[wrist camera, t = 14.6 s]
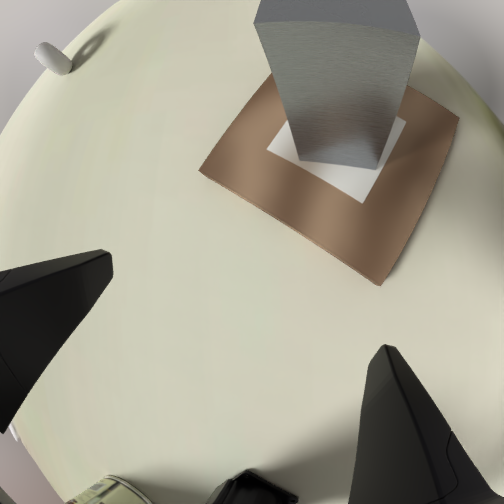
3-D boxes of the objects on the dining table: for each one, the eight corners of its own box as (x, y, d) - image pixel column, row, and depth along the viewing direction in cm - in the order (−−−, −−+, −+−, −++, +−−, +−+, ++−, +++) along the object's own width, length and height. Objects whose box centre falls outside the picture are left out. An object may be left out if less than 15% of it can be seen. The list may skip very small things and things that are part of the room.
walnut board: (453, 126, 17) (459, 117, 15) (376, 285, 18) (381, 286, 16) (301, 51, 21) (299, 40, 19) (206, 176, 22) (197, 170, 21)
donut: (80, 68, 32) (44, 43, 22) (67, 83, 32) (31, 60, 23) (71, 58, 34) (41, 36, 25) (60, 70, 35) (29, 50, 25)
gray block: (375, 170, 17) (420, 36, 5) (299, 160, 19) (253, 23, 7) (374, 107, 17) (392, -26, 5) (306, 100, 19) (272, -33, 7)
